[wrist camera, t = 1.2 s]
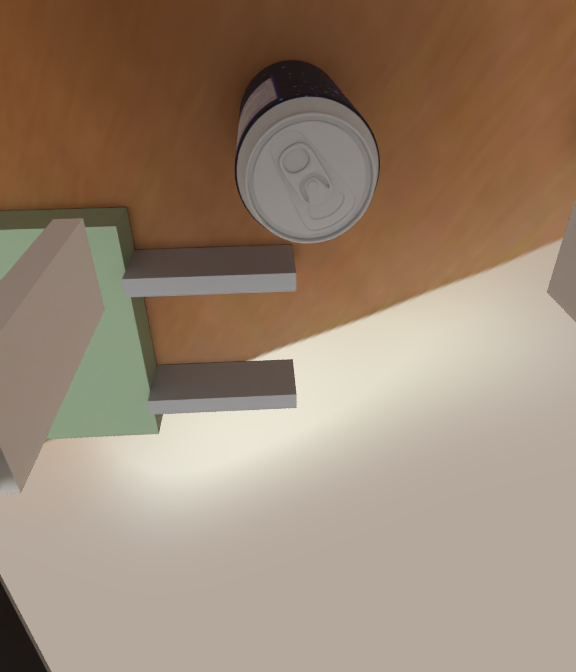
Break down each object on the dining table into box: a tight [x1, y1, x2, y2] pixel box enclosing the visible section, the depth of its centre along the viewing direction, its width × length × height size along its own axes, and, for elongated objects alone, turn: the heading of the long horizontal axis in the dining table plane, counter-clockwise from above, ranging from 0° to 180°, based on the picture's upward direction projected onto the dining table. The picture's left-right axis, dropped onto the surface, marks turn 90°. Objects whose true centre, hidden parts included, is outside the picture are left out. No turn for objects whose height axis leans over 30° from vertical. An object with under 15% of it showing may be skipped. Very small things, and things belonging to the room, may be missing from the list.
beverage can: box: [235, 61, 380, 243], centre depth 24 cm, size 6×6×12 cm
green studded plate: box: [0, 207, 296, 439], centre depth 34 cm, size 16×22×4 cm
